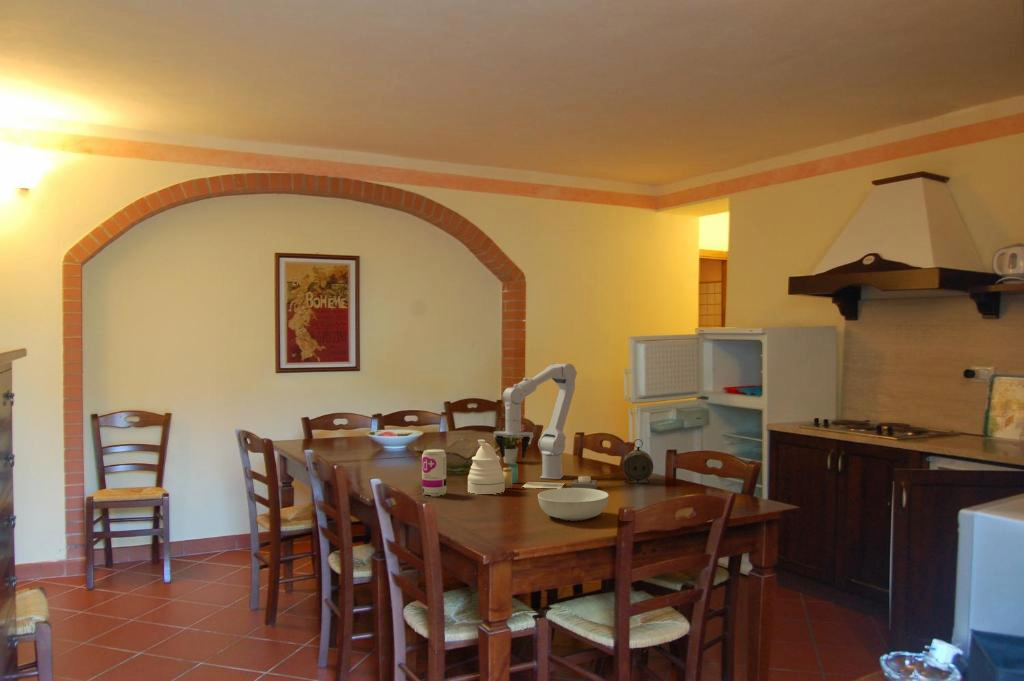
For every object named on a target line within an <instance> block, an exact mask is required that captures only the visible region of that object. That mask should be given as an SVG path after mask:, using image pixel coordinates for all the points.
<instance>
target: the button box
mask: <svg viewBox="0 0 1024 681" xmlns="http://www.w3.org/2000/svg"><path fill="white" fill-rule="evenodd" d="M597 487H598V480H597V479H591V483H578V479H574V480H572V483H571V488H587V489H595V490H597Z"/></svg>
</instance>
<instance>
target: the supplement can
mask: <svg viewBox="0 0 1024 681" xmlns="http://www.w3.org/2000/svg"><path fill="white" fill-rule="evenodd" d="M421 492H422V493H421V494H422V495H424V494H430V495H431V496H430V497H441V496H440V495H442V496H445V494H446V493H447V453H446V452H445V450H444V449H443V448H442V449H440V448H430V449H424V450H423V453H422V455H421Z"/></svg>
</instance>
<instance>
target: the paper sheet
mask: <svg viewBox="0 0 1024 681" xmlns="http://www.w3.org/2000/svg"><path fill="white" fill-rule="evenodd" d="M564 484H566V483H565V482H562V483H559V482H538V481H537V482H534V481H533V482H532V481H527V482H526V483H525V484H523V485H522V486H521V488H522V487H524V488H523V489H536V488H557V489H560V488H564V486H565V485H564ZM563 485H564V486H563Z"/></svg>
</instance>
